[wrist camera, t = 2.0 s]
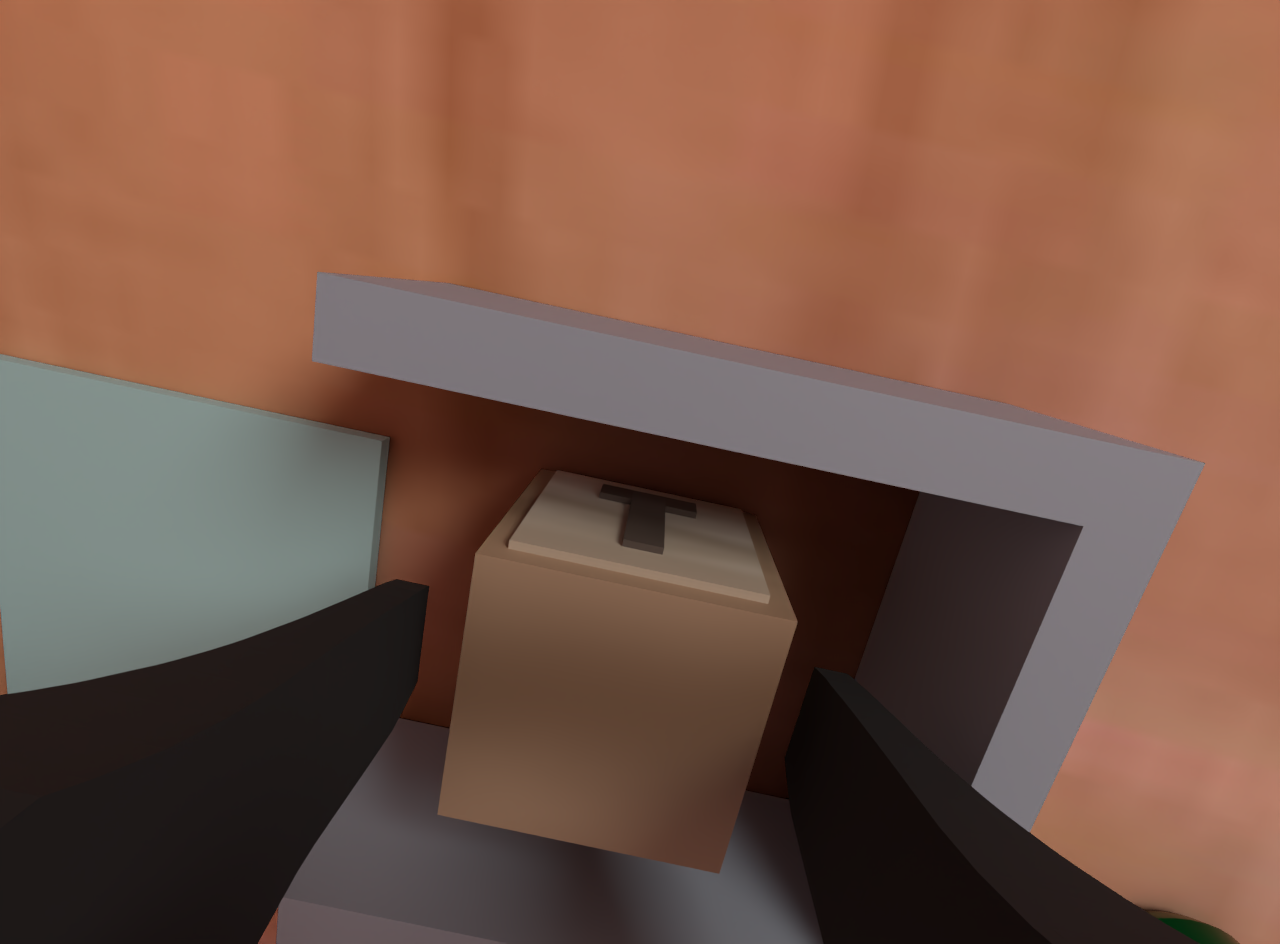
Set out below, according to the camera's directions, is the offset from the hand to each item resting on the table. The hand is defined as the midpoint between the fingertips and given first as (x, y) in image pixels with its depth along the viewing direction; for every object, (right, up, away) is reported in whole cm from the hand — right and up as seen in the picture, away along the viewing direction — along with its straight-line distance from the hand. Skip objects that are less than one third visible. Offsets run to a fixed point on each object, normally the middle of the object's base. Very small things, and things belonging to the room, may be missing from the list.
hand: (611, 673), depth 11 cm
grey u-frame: (+1, +1, +3) cm, 4 cm away
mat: (-11, 0, +4) cm, 12 cm away
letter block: (0, +1, +4) cm, 4 cm away
